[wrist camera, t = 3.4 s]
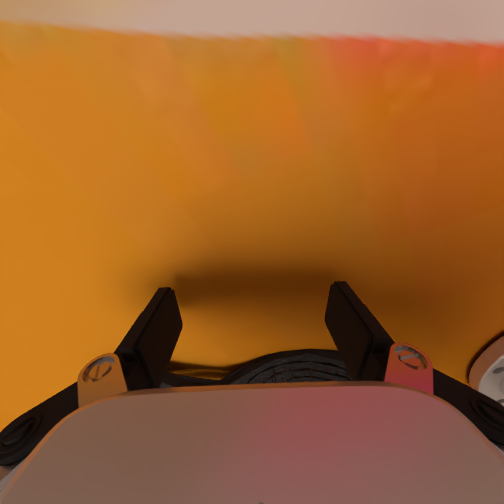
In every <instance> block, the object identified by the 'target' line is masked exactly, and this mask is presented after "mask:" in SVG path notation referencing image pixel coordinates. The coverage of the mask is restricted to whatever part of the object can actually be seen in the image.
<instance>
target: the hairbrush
mask: <svg viewBox="0 0 504 504" xmlns="http://www.w3.org/2000/svg"><path fill="white" fill-rule="evenodd" d="M273 354H274V355H273ZM273 354H268V355H265V356H262V357H259V358H257V359H256V360H254V361H252V362H250V363H248V364H246V365H244V366H242V367H241V368H239V369H237V370H236V371H234V372H232V373H231V374H229V375H227V376H226V377H224V378H223V379H221V380H213V379H204V378H196V377H188V376H180V375H176V374H173V373H170V372H167V371H166V372H165V374H164V377H163V380H162V382H161V385H160V386H159V387H158V388H172V387H192V386H215V385H239V384H266V383H294V382H303V381H307V382H308V381H309V382H325V381H355V380H352V379H351V377H350V375H349V373H348V371H347V368H346V366H345V364H344V362H343V360H342V358H341V356H340V353H339V351H331V350H326V351H324V350H322V349H321V350H317V349H305V350H294V351H283V352H279V353H273ZM270 355H272V356H270ZM267 356H270V357H267ZM264 357H267V358H265V359H263V360H260V359H262V358H264ZM259 360H260V361H259ZM285 381H286V382H285Z"/></svg>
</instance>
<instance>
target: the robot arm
mask: <svg viewBox="0 0 504 504" xmlns="http://www.w3.org/2000/svg"><path fill="white" fill-rule="evenodd" d="M325 323H326V326H327V328H328V330H329V332H330V334H331V336H332V338H333V341H334V343H335V345H336V347H337V349H338V351H339V353H340V356H341V358H342V360H343V362H344V364H345V366H346V368H347V371H348V373H349V375H350V377H351V379H352V380H355V381H325V382H294V383H266V384H239V385H215V386H192V387H172V388H158V387H159V386H160V385H161V382H162V380H163V377H164V374H165V372H166V369H167V367H168V364H169V361H170V359H171V356H172V353H173V351H174V348H175V346H176V343H177V340H178V338H179V335H180V333H181V330H182V325H183V324H182V319H181V315H180V311H179V308H178V304H177V300H176V296H175V292H174V290H171V288H170V287H164V288H159V289H158V290H157V292H156V293H155V295H154V296H153V298H152V299H151V300H150V302H149V303H148V305H147V306H146V308H145V309H144V311H143V312H142V313H141V314H140V315H139V317H138V318H137V320H136V321H135V323H134V324H133V326H132V327H131V328H130V330H129V331H128V333H127V334H126V336H125V337H124V339H123V340H122V342H121V343H120V345H119V346H118V348H117V349H116V350H115V352H114V353H107V354H103V355H100V356H98V357H96V358H95V359H93V360H91V361H90V362H89V363H88V364H86V365H85V366H84V368H83V369H82V370H81V372H80V373H79V375H78V380H77V382H75V383H74V384H72V385H70V386H69V387H67V388H65V389H64V390H62V391H61V392H59V393H57V394H56V395H54V396H52V397H51V398H49V399H47V400H46V401H44V402H42V403H41V404H39V405H37V406H36V407H34V408H32V409H31V410H29V411H27V412H26V413H24V414H22V415H21V416H19V417H18V418H16V419H15V420H14V421H12V422H11V423H10V424H9V425H8V426H6V427H5V428H4V429H3V430H2V431H1V432H0V504H504V335H503V336H502V337H501V338H499V339H498V340H496V341H495V342H494V343H492V344H491V345H490V346H489V347H488V348H487V349H486V350H485V351H483V352H482V354H481V355H480V356H479V357H478V358H477V360H476V361H475V362H474V364H473V366H472V368H471V370H470V374H469V383H470V386H471V387H472V388H471V387H469V386H467V385H465V384H463V383H461V382H459V381H457V380H455V379H453V378H451V377H449V376H447V375H445V374H443V373H441V372H439V371H437V370H435V369H434V368H433V366H432V363H431V361H430V359H429V358H428V357H427V356H426V355H425V354H424V353H423V352H422V351H420V350H419V349H418V348H416V347H414V346H412V345H409V344H406V343H400V342H399V343H395V342H394V341H393V340H392V338H391V337H390V336H389V335H388V333H387V332H386V331H385V330H384V328H383V327H382V326H381V325H380V323H379V322H378V321H377V320H376V318H375V317H374V316H373V314H372V313H371V312H370V311H369V309H368V308H367V307H366V306H365V305H364V304H363V303H362V302H361V300H360V299H359V298H358V297H357V295H356V294H355V293H354V291H353V290H352V289H351V288H350V286H349V285H348V284H347V283H346V282H345V281H337V282H334V284H331V287H330V292H329V298H328V303H327V308H326V313H325Z"/></svg>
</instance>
